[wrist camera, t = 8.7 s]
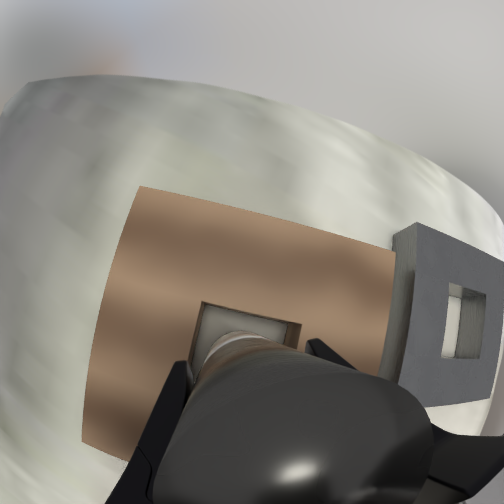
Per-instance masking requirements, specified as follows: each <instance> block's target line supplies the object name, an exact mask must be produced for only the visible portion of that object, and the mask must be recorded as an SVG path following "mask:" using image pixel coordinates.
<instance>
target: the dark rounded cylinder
mask: <svg viewBox="0 0 504 504" xmlns="http://www.w3.org/2000/svg"><path fill="white" fill-rule="evenodd" d="M433 449H434V438H433V430H432V426H431V422H430V419H429V417H428V415H427V413H426V411H425V409H424V407H423V406H422V405H421V403H420V402H419V401H418V399H417V398H416V397H415V396H413V395H412V394H411V393H410V392H409V391H408V390H406V389H405V388H403V387H401V386H400V385H398V384H396V383H394V382H391V381H389V380H386V379H383V378H381V377H377V376H374V375H371V374H367V373H364V372H361V371H357V370H354V369H351V368H348V367H345V366H342V365H339V364H336V363H333V362H330V361H327V360H324V359H321V358H318V357H315V356H312V355H310V354H307V353H304V352H301V351H299V350H296V349H293V348H290V347H288V346H285V345H283V344H280V343H277V342H275V341H272V340H270V339H267V338H265V337H262V336H260V335H257V334H255V333H252V332H247V331H235V332H231V333H228V334H226V335H224V336H222V337H220V338H219V339H218V340H217V341H216V342H215V343H214V344H213V345H212V347H211V348H210V350H209V352H208V355H207V357H206V359H205V361H204V364H203V366H202V368H201V371H200V373H199V375H198V378H197V380H196V382H195V385H194V387H193V389H192V392H191V394H190V396H189V398H188V401H187V403H186V405H185V408H184V410H183V412H182V415H181V417H180V419H179V422H178V424H177V426H176V429H175V431H174V433H173V435H172V438H171V440H170V442H169V445H168V447H167V449H166V452H165V454H164V456H163V459H162V461H161V463H160V466H159V468H158V471H157V474H156V477H155V480H154V485H153V495H152V496H153V504H413V503H414V501H415V500H416V498H417V497H418V495H419V493H420V492H421V490H422V488H423V485H424V483H425V481H426V479H427V476H428V473H429V470H430V467H431V463H432V458H433Z"/></svg>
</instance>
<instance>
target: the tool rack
mask: <svg viewBox="0 0 504 504" xmlns="http://www.w3.org/2000/svg"><path fill="white" fill-rule="evenodd" d="M395 256H396V252H393V251H390V250H387V249H383V248H380V247H377V246H374V245H370V244H367V243H364V242H361V241H357V240H354V239H350V238H347V237H344V236H340V235H337V234H333V233H330V232H326V231H323V230H319V229H316V228H312V227H308V226H305V225H301V224H298V223H294V222H290V221H286V220H283V219H279V218H275V217H271V216H267V215H264V214H260V213H256V212H252V211H248V210H244V209H240V208H236V207H232V206H228V205H223V204H219V203H215V202H211V201H207V200H202V199H198V198H194V197H189V196H185V195H180V194H176V193H171V192H167V191H162V190H157V189H153V188H148V187H143V186H139V189H138V191H137V194H136V196H135V199H134V201H133V204H132V207H131V209H130V212H129V215H128V217H127V220H126V223H125V226H124V228H123V231H122V234H121V237H120V240H119V243H118V246H117V249H116V252H115V256H114V259H113V262H112V266H111V269H110V272H109V276H108V279H107V283H106V287H105V291H104V294H103V298H102V302H101V307H100V311H99V315H98V320H97V324H96V329H95V334H94V339H93V344H92V350H91V356H90V362H89V368H88V375H87V382H86V391H85V400H84V410H83V424H82V442H84V443H86V444H88V445H90V446H92V447H94V448H96V449H98V450H101V451H103V452H105V453H108V454H110V455H112V456H115V457H117V458H120V459H122V460H125V461H128V462H129V461H130V459H131V457H132V454H133V452H134V450H135V447H136V446H138V445H137V443H138V441H139V439H140V436H141V434H142V432H143V430H144V427H145V425H146V423H147V421H148V418H149V416H150V414H151V412H152V409H153V407H154V405H155V403H156V401H157V398H158V396H159V394H160V392H161V390H162V387H163V385H164V383H165V381H166V379H167V377H168V374H169V372H170V370H171V368H172V366H173V364H174V362H175V361H178V360H187V361H188V364H189V367H191V362H192V358H193V353H194V349H195V345H196V340H197V336H198V332H199V328H200V324H201V319H202V315H203V311H204V307H205V304H207V305H211V306H215V307H219V308H223V309H227V310H231V311H235V312H240V313H244V314H248V315H253V316H257V317H261V318H266V319H271V320H275V321H280V322H285V323H288V327H287V332H286V336H285V341H284V345H285V346H288V347H290V348H293V349H296V350H299V351H301V352H305V346H306V341H307V340H309V339H313V338H319V339H321V340H322V341H323V342H324V343H325V344H327V345H328V346H329V347H330V348H332V349H333V350H334V351H335V352H336V353H338V354H339V355H340V356H341V357H343V358H344V359H345V360H346V361H347V362H349V363H350V364H351V365H352V366H354V367H355V368H356V369H357V370H359V371H361V372H364V373H367V374H371V375H374V376H377V375H378V371H379V366H380V362H381V357H382V352H383V347H384V342H385V336H386V331H387V325H388V319H389V312H390V305H391V297H392V289H393V279H394V269H395Z"/></svg>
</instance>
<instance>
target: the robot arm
mask: <svg viewBox="0 0 504 504" xmlns="http://www.w3.org/2000/svg"><path fill="white" fill-rule="evenodd" d="M304 353H307V354H310V355H312V356H315V357H318V358H321V359H324V360H327V361H330V362H333V363H336V364H339V365H342V366H345V367H348V368H351V369H354V370H357V369H356V368H355V367H354V366H352V365H351V364H350V363H349V362H347V361H346V360H345V359H344V358H343V357H341V356H340V355H339V354H338V353H336V352H335V351H334V350H333V349H332V348H330V347H329V346H328V345H327V344H325V343H324V342H323V341H322V340H321V339H319V338H313V339H309V340H307V341H306V346H305V352H304ZM357 371H359V370H357ZM193 387H194V382H193V375H192V372H191V369H190V367H189V364H188V361H187V360H178V361H175V362H174V364H173V366H172V368H171V370H170V372H169V374H168V377H167V379H166V381H165V383H164V385H163V387H162V390H161V392H160V394H159V396H158V398H157V401H156V403H155V405H154V407H153V409H152V412H151V414H150V416H149V418H148V421H147V423H146V425H145V427H144V430H143V432H142V434H141V436H140V439H139V441H138V443H137V445H138V446H136V447H135V450H134V452H133V454H132V457H131V459H130V461H129V463H128V465H127V467H126V469H125V471H124V472H123V474H122V476H121V478H120V479H119V481H118V483H117V484H116V486H115V488H114V489H113V491H112V493H111V494H110V496H109V497H108V499H107V501H106V502H105V504H153V496H152V495H153V485H154V480H155V477H156V474H157V471H158V468H159V466H160V463H161V461H162V459H163V456H164V454H165V452H166V449H167V447H168V445H169V442H170V440H171V438H172V435H173V433H174V431H175V429H176V426H177V424H178V422H179V419H180V417H181V415H182V412H183V410H184V408H185V405H186V403H187V401H188V398H189V396H190V394H191V392H192V389H193ZM431 426H432V430H433V438H434V449H433V458H432V463H431V467H430V470H429V473H428V476H427V479H426V481H425V483H424V485H423V488H422V490H421V492H420V493H419V495H418V497H417V498H416V500H415V501H414V503H413V504H504V434H503V435H502V436H468V435H457V434H453V433H449V432H447V431H445V430H443V429H441V428H439V427H437V426H436V425H434V424H432V423H431Z"/></svg>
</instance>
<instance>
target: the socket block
mask: <svg viewBox="0 0 504 504" xmlns="http://www.w3.org/2000/svg"><path fill="white" fill-rule="evenodd" d="M393 252H396V256H395V269H394V279H393V289H392V297H391V305H390V312H389V319H388V325H387V331H386V336H385V342H384V347H383V352H382V357H381V362H380V366H379V371H378V375H377V377H381V378H383V379H386V380H389V381H391V382H394V383H396V384H398V385H400V386H401V387H403V388H405V389H406V390H408V391H409V392H410V393H411V394H412V395H413V396H415V397H416V398H417V399H418V401H419V402H420V403H421V405H422V406H423V407H435V406H444V405H452V404H459V403H466V402H472V401H478V400H483V399H488V398H490V395H491V391H492V387H493V383H494V378H495V373H496V368H497V363H498V357H499V350H500V343H501V335H502V326H503V313H504V262H503V261H501V260H499V259H497V258H495V257H493V256H491V255H489V254H487V253H485V252H483V251H481V250H479V249H477V248H475V247H473V246H471V245H469V244H466V243H464V242H462V241H460V240H458V239H456V238H453V237H451V236H449V235H447V234H444V233H442V232H440V231H437V230H435V229H433V228H430V227H428V226H425V225H423V224H421V223H418V222H416V223H414V224H412V225H411V226H409V227H407V228H405V229H403V230H402V231H400V232H398V233H396V234H394V235H393ZM449 295H450V296H454V297H458V298H461V299H462V305H461V316H460V325H459V333H458V340H457V347H456V353H455V358H449V357H441V352H442V346H443V340H444V333H445V326H446V318H447V308H448V297H449Z"/></svg>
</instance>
